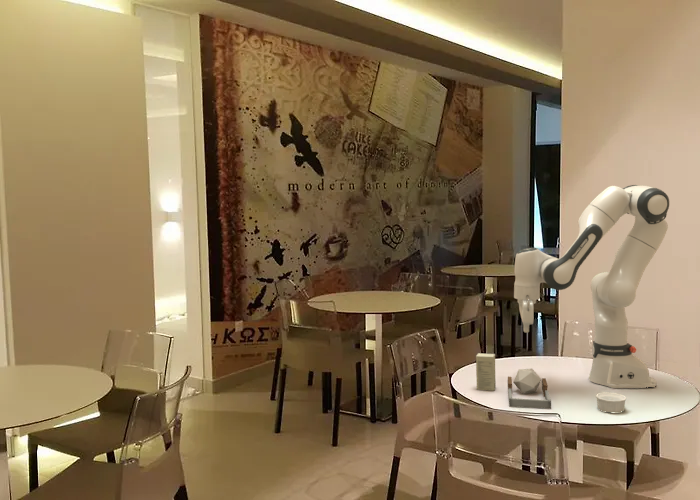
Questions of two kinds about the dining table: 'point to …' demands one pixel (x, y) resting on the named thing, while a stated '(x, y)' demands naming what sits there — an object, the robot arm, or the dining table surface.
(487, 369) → the skincare box
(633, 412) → the dining table surface
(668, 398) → the dining table surface
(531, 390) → the die
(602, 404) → the ramekin
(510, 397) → the tray
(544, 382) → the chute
